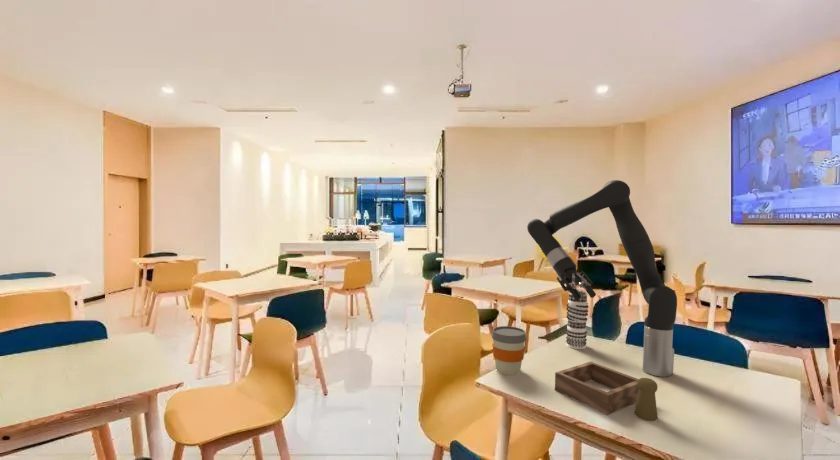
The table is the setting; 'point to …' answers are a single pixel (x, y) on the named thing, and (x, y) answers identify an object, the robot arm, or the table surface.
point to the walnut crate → (605, 402)
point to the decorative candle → (577, 321)
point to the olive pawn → (646, 400)
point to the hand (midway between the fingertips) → (586, 297)
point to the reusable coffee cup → (508, 349)
